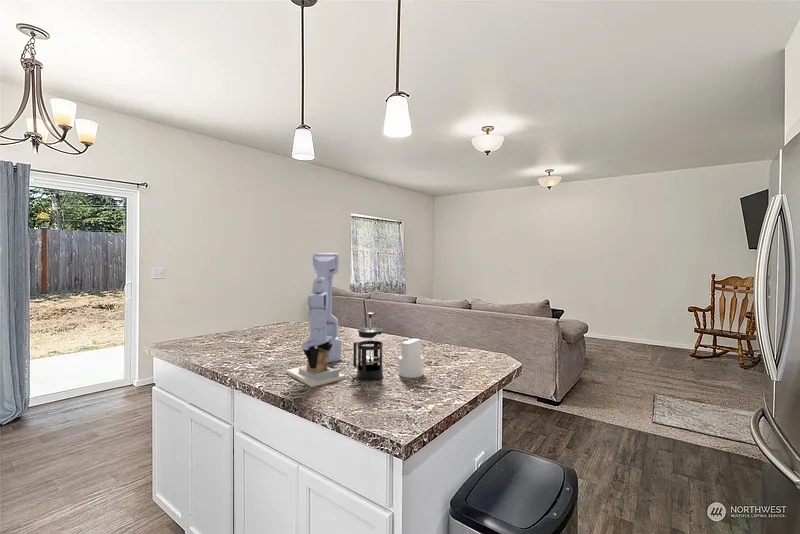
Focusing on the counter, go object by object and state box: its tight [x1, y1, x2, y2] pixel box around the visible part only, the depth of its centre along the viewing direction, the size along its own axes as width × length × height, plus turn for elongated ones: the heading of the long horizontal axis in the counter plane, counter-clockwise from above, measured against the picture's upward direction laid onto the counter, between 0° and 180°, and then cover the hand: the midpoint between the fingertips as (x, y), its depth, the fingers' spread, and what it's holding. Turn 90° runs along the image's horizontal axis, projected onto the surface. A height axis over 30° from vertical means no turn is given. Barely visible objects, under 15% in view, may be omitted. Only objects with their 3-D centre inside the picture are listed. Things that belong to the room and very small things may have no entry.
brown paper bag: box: [306, 347, 329, 373], centre depth 131 cm, size 5×5×8 cm
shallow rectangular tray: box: [285, 365, 346, 388], centre depth 132 cm, size 13×19×4 cm
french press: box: [352, 311, 384, 382], centre depth 131 cm, size 12×9×23 cm
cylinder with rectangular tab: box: [398, 338, 424, 379], centre depth 136 cm, size 9×9×12 cm
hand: (318, 365), depth 131 cm, fingers closed on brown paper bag, 5 cm apart
